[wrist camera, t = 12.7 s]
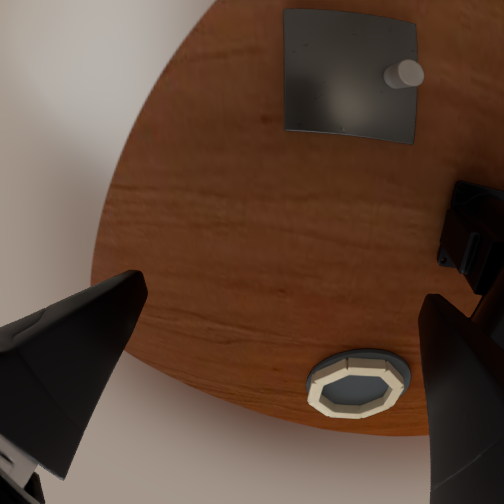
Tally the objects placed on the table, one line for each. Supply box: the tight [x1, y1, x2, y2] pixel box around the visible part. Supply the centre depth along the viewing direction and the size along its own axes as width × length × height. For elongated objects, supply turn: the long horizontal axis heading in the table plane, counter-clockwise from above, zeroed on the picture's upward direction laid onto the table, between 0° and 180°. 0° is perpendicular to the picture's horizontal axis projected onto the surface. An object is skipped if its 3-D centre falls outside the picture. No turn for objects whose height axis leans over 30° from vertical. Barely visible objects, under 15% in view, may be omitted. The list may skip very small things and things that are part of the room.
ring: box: [307, 358, 404, 419], centre depth 26 cm, size 10×10×1 cm
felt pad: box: [306, 349, 411, 406], centre depth 27 cm, size 11×11×1 cm
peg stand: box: [283, 9, 424, 145], centre depth 12 cm, size 8×8×4 cm
